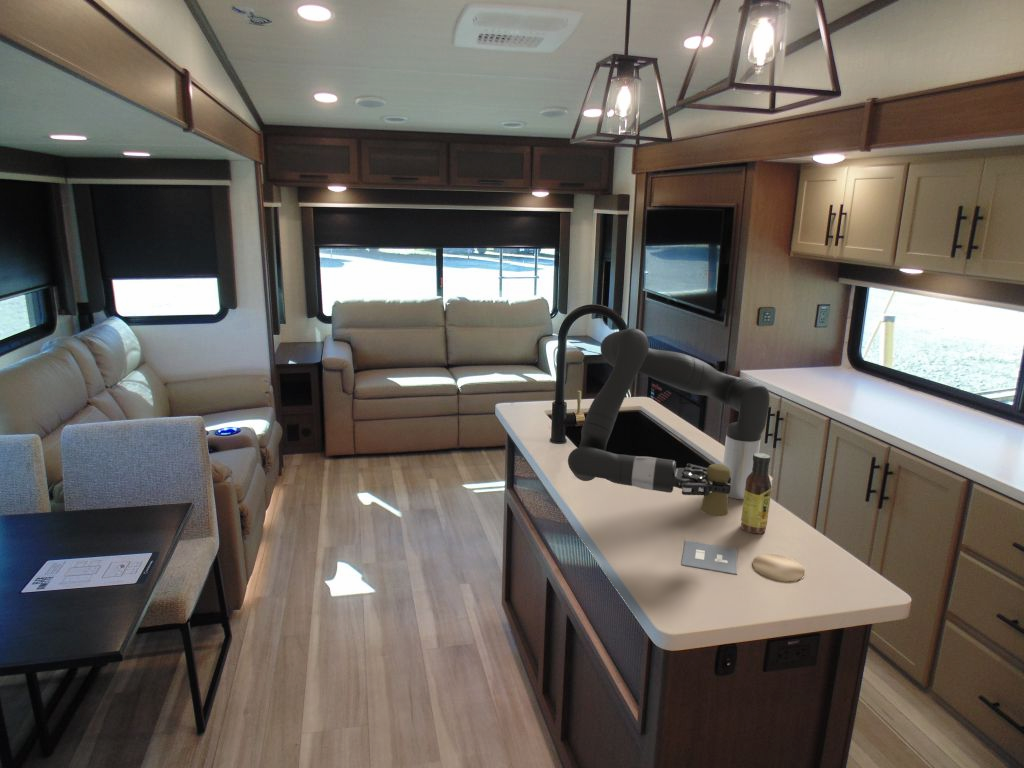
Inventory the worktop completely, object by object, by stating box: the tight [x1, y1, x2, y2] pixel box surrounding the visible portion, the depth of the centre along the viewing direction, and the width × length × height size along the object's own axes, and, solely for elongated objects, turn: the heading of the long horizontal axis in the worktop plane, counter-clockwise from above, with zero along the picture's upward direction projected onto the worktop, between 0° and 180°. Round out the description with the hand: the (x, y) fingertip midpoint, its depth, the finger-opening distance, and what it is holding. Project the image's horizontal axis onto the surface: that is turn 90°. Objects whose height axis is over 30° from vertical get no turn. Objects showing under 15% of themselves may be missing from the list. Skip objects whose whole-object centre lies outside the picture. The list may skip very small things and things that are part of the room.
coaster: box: [752, 553, 805, 583], centre depth 152 cm, size 11×11×1 cm
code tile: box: [681, 540, 738, 575], centre depth 157 cm, size 12×12×1 cm
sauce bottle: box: [740, 452, 773, 534], centre depth 169 cm, size 6×6×20 cm
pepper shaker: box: [700, 463, 731, 517], centre depth 152 cm, size 6×6×11 cm
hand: (730, 484), depth 151 cm, fingers closed on pepper shaker, 4 cm apart
